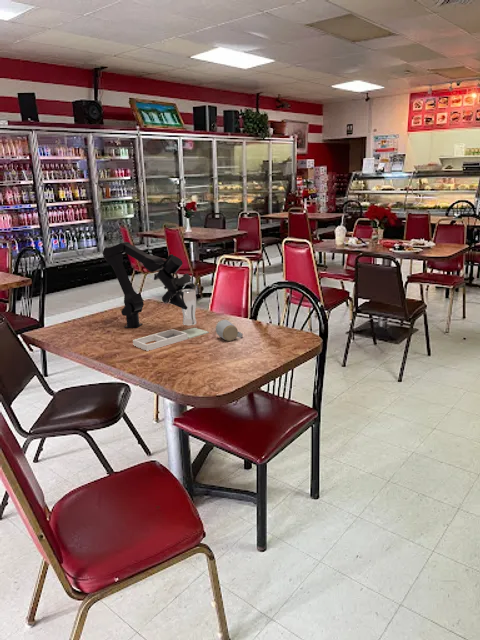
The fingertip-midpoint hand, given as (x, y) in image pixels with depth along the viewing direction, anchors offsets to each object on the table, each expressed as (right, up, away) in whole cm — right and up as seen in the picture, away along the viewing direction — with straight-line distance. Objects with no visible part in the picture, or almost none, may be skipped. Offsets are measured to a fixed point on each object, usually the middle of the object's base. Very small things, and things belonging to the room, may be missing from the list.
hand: (191, 307), depth 210 cm
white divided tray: (-8, -14, -3) cm, 16 cm away
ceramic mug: (+17, -14, -5) cm, 23 cm away
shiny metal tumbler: (-1, -7, +3) cm, 8 cm away
